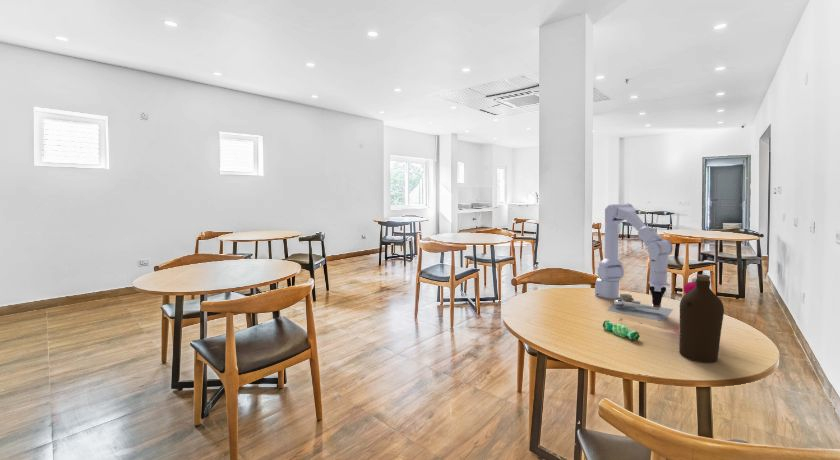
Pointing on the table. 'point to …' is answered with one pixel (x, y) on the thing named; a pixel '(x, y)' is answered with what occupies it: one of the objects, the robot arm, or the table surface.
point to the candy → (621, 330)
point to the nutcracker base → (641, 310)
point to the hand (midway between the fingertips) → (656, 305)
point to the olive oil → (700, 322)
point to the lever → (635, 304)
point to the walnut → (629, 299)
